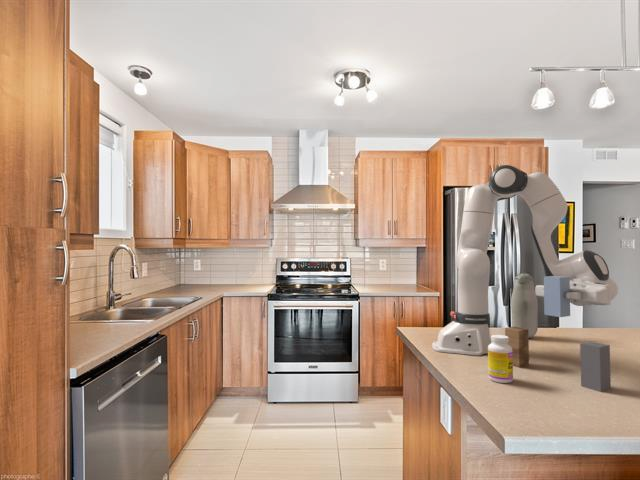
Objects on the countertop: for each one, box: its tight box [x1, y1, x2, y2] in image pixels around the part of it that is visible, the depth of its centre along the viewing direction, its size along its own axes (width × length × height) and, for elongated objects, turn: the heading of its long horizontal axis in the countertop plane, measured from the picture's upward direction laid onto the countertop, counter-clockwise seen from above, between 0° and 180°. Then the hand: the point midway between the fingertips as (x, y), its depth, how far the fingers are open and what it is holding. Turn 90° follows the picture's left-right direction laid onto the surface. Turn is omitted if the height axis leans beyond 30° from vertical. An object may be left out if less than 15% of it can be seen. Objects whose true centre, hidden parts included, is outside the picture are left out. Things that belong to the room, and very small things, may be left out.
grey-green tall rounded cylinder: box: [510, 273, 539, 339], centre depth 167 cm, size 10×10×28 cm
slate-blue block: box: [543, 276, 571, 318], centre depth 119 cm, size 5×5×12 cm
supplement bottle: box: [487, 334, 514, 384], centre depth 113 cm, size 7×7×13 cm
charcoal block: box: [579, 341, 612, 393], centre depth 107 cm, size 5×5×12 cm
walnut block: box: [504, 326, 530, 369], centre depth 128 cm, size 5×5×12 cm
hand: (555, 294), depth 119 cm, fingers closed on slate-blue block, 5 cm apart
